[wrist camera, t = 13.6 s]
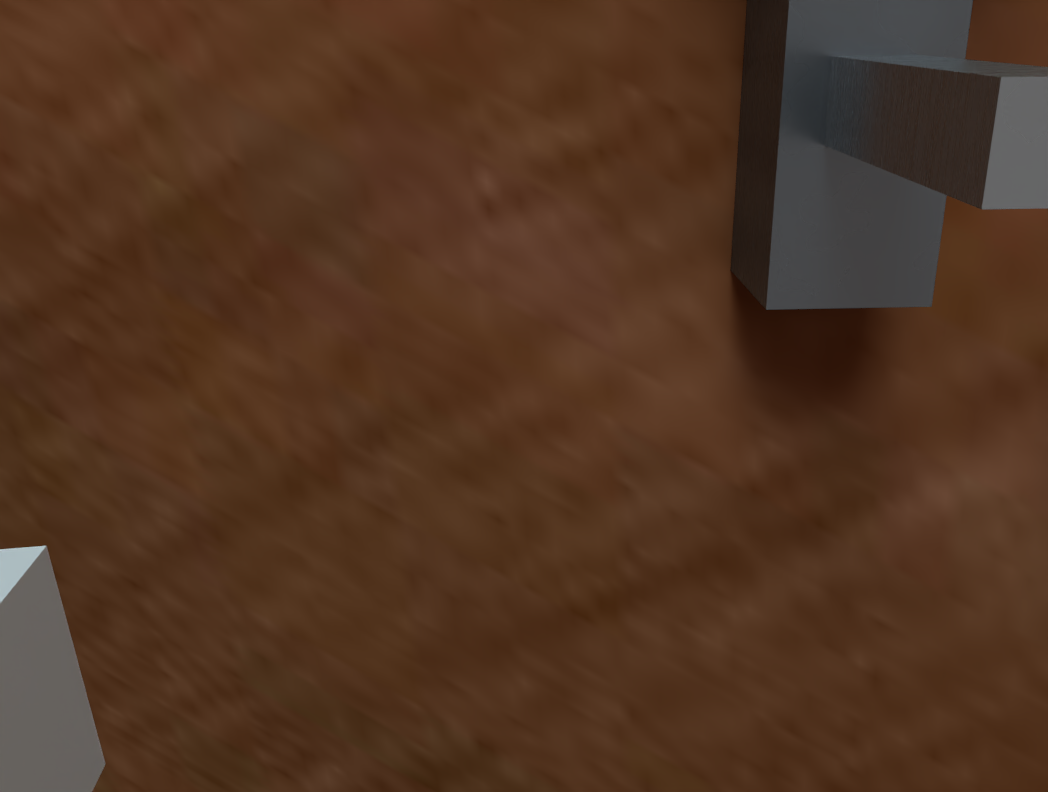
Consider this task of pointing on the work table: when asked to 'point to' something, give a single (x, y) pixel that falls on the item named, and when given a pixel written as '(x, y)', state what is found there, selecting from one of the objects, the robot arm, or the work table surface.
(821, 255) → the grey block
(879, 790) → the work table surface
